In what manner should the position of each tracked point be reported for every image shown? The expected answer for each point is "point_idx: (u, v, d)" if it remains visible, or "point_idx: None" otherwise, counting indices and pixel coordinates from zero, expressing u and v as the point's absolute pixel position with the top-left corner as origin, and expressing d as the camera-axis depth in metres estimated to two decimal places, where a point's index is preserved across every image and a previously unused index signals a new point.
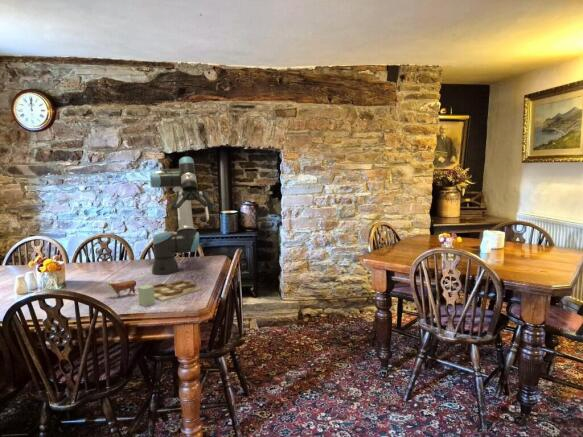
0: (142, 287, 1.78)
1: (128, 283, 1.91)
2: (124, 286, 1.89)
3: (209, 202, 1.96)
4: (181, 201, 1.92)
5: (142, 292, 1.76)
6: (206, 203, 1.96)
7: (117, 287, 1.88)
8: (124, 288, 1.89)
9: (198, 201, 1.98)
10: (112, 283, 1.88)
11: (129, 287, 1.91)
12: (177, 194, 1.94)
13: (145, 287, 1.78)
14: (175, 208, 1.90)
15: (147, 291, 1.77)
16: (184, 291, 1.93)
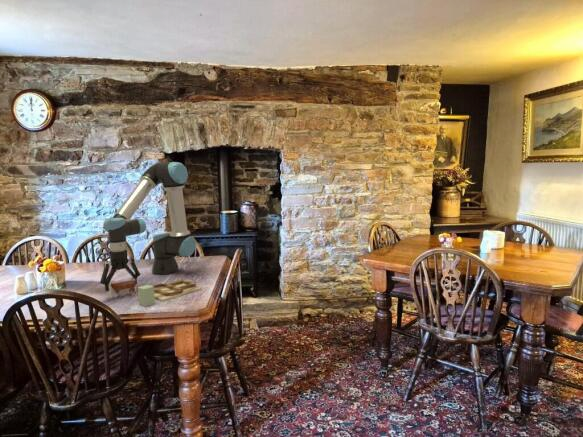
0: (142, 287, 1.78)
1: (128, 283, 1.90)
2: (123, 286, 1.89)
3: (137, 273, 1.95)
4: (112, 275, 1.86)
5: (142, 292, 1.76)
6: (134, 274, 1.94)
7: (116, 287, 1.88)
8: (124, 288, 1.89)
9: None
10: (112, 283, 1.88)
11: (129, 287, 1.91)
12: (107, 267, 1.84)
13: (145, 287, 1.78)
14: (106, 284, 1.84)
15: (147, 291, 1.77)
16: (184, 291, 1.93)
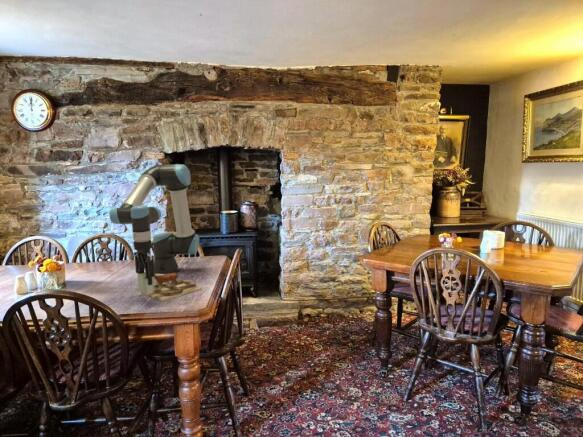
0: (142, 274, 1.78)
1: (171, 275, 1.93)
2: (167, 278, 1.92)
3: (148, 273, 1.74)
4: (139, 266, 1.78)
5: (141, 279, 1.76)
6: (146, 274, 1.75)
7: (160, 279, 1.91)
8: (167, 280, 1.92)
9: None
10: (155, 275, 1.91)
11: (172, 279, 1.94)
12: (135, 256, 1.80)
13: (145, 274, 1.77)
14: None
15: None
16: (184, 291, 1.93)
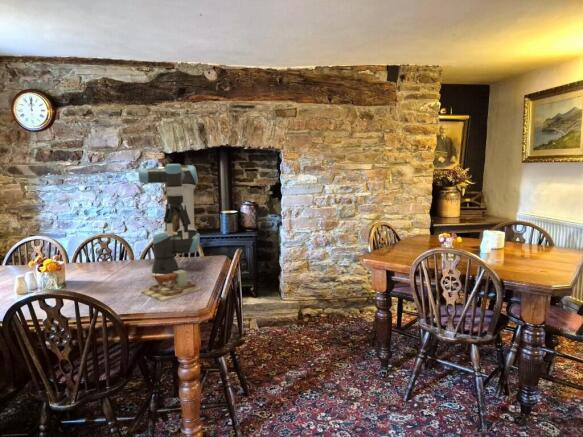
0: (177, 271, 1.99)
1: (171, 275, 1.93)
2: (167, 278, 1.92)
3: (184, 221, 1.90)
4: (169, 216, 1.98)
5: None
6: (182, 222, 1.91)
7: (160, 279, 1.91)
8: (167, 280, 1.92)
9: (182, 215, 1.95)
10: (155, 275, 1.91)
11: (172, 279, 1.94)
12: (166, 208, 1.99)
13: (179, 271, 1.99)
14: None
15: (181, 275, 1.98)
16: (184, 291, 1.93)
